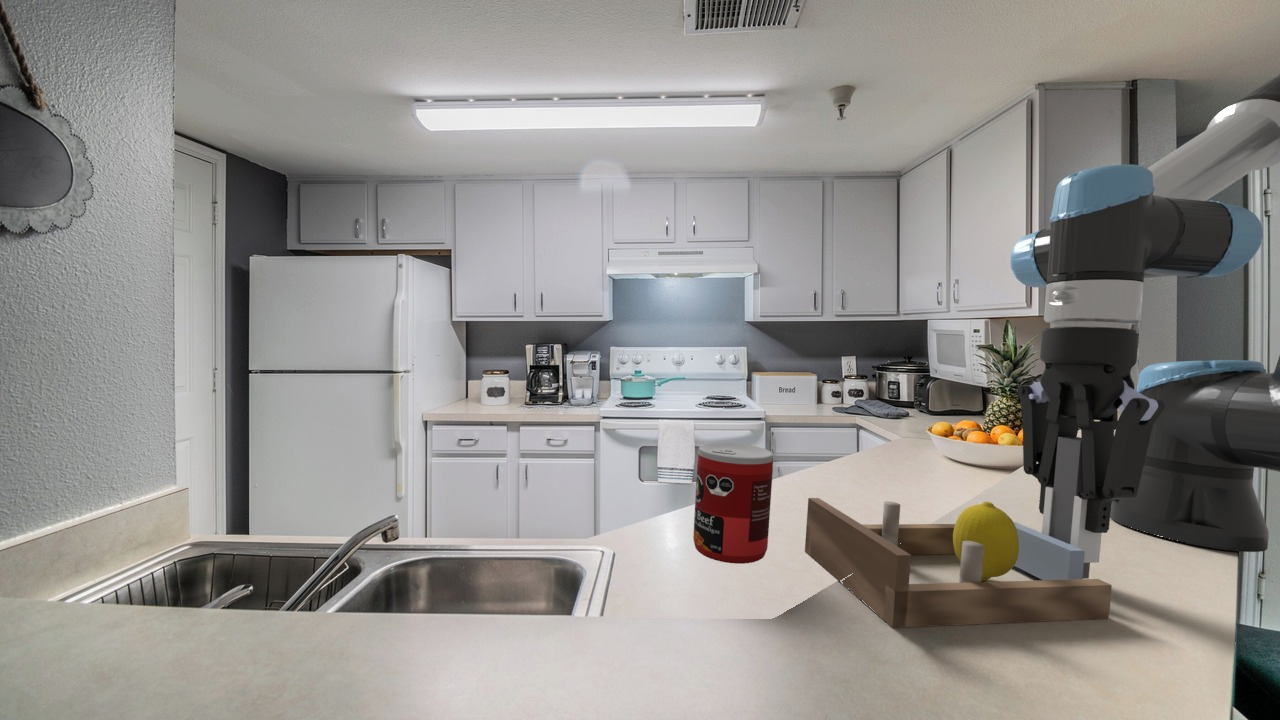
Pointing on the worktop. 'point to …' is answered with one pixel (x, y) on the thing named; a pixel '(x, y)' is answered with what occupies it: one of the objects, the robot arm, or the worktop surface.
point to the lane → (936, 604)
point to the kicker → (1057, 523)
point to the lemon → (988, 537)
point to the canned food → (733, 502)
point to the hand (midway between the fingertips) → (1068, 554)
